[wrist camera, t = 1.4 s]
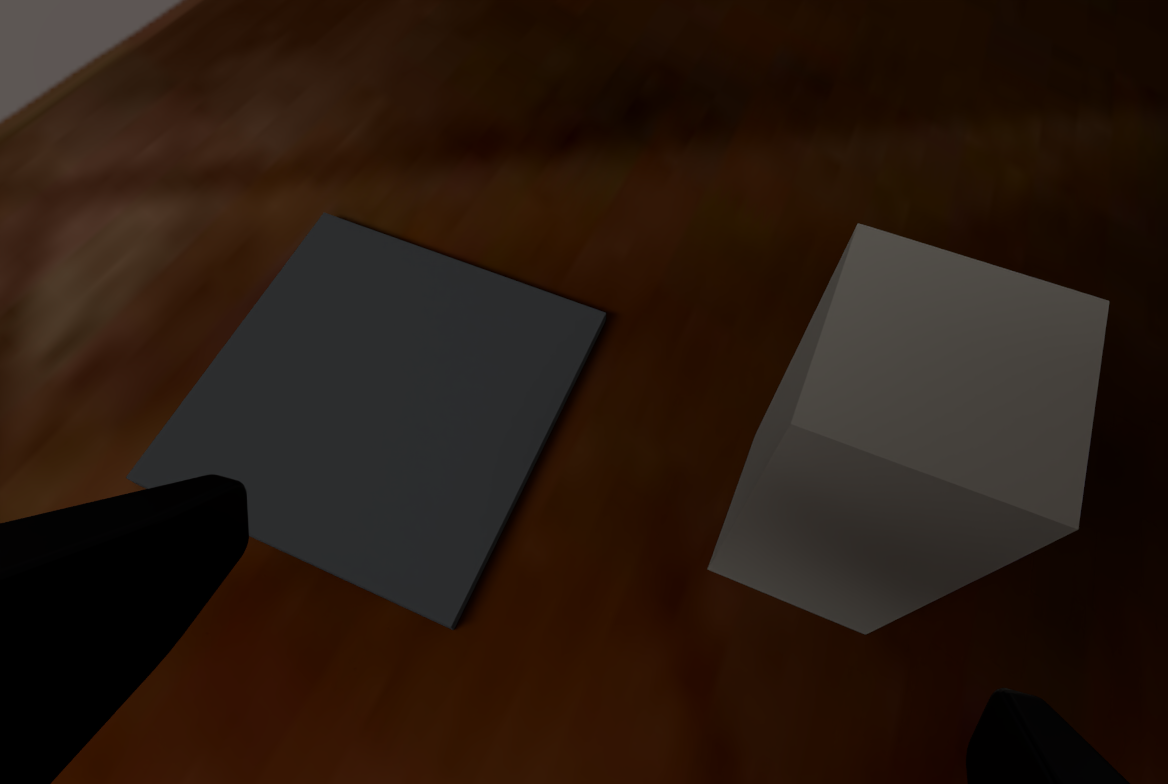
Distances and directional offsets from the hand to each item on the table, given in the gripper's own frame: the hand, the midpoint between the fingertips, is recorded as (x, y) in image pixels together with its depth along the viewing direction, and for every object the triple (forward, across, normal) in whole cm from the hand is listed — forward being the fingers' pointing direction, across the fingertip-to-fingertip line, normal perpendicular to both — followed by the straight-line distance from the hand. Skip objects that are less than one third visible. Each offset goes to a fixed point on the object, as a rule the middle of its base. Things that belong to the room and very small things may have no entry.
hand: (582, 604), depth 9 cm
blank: (+15, -5, +7) cm, 17 cm away
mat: (+15, +10, +6) cm, 19 cm away
